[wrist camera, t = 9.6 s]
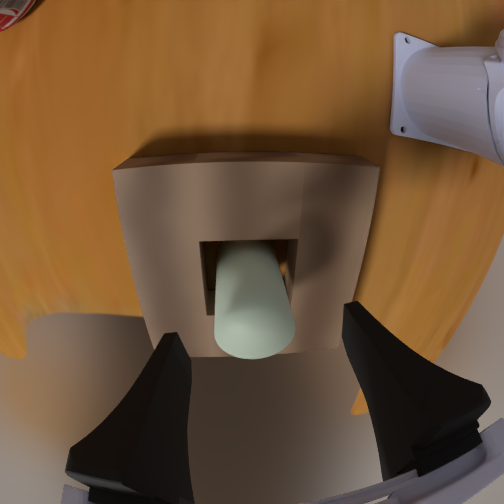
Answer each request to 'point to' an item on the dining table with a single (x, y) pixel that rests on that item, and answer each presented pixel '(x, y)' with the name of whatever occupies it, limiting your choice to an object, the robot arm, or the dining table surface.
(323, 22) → the dining table surface
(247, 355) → the peg
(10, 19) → the beverage can
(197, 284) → the socket block
